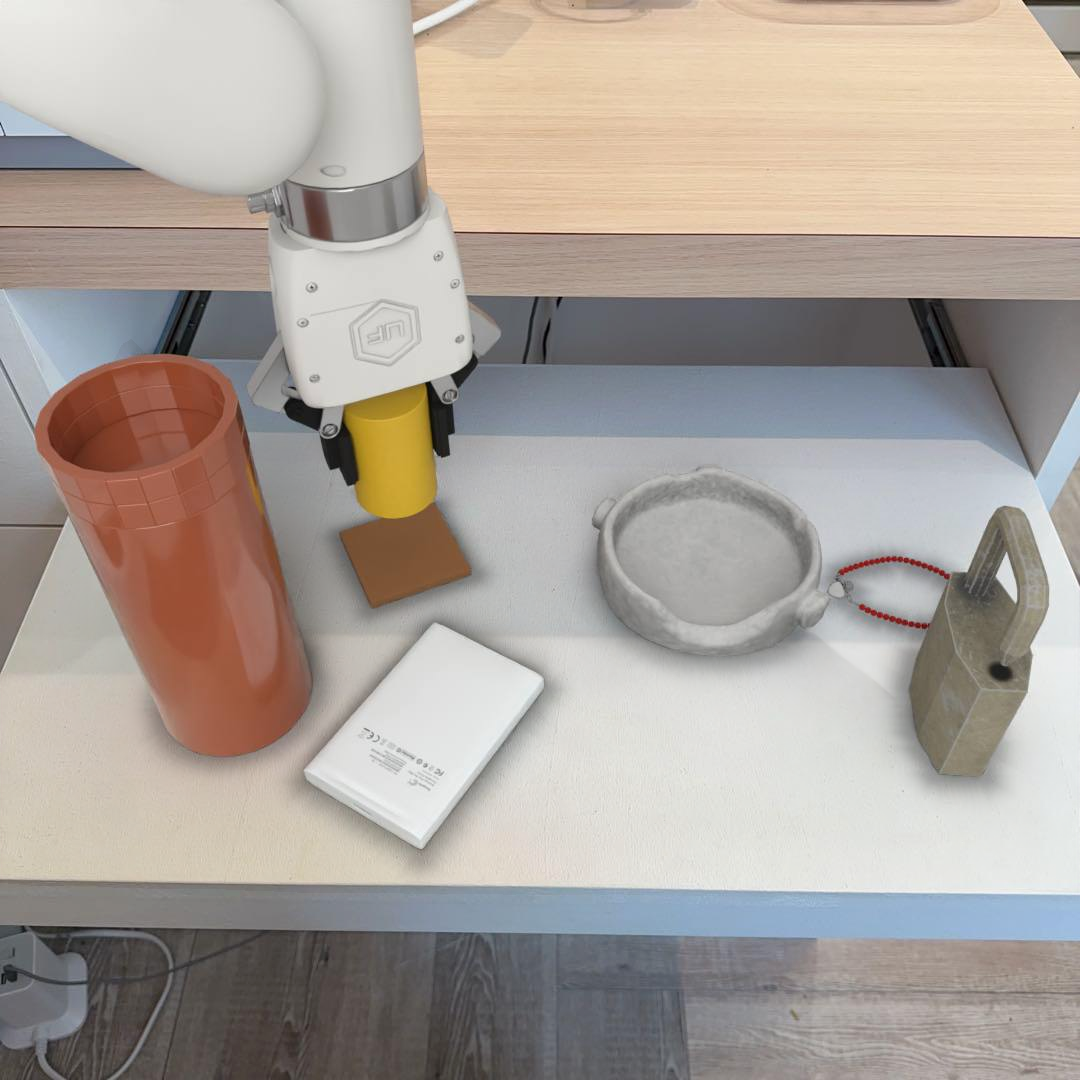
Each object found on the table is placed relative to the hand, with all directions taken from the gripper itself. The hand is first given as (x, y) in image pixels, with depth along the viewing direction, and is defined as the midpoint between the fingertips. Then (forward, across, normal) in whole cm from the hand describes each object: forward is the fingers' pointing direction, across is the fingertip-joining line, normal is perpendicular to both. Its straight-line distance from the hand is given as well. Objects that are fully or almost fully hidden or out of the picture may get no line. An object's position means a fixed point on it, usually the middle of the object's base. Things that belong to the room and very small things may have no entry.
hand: (391, 454), depth 67 cm
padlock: (+9, +25, -26) cm, 37 cm away
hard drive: (+9, -4, -14) cm, 17 cm away
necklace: (+9, +28, -16) cm, 34 cm away
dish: (+9, +17, -10) cm, 22 cm away
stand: (+9, -13, -6) cm, 17 cm away
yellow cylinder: (+3, 0, 0) cm, 3 cm away
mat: (+9, 0, 0) cm, 9 cm away
